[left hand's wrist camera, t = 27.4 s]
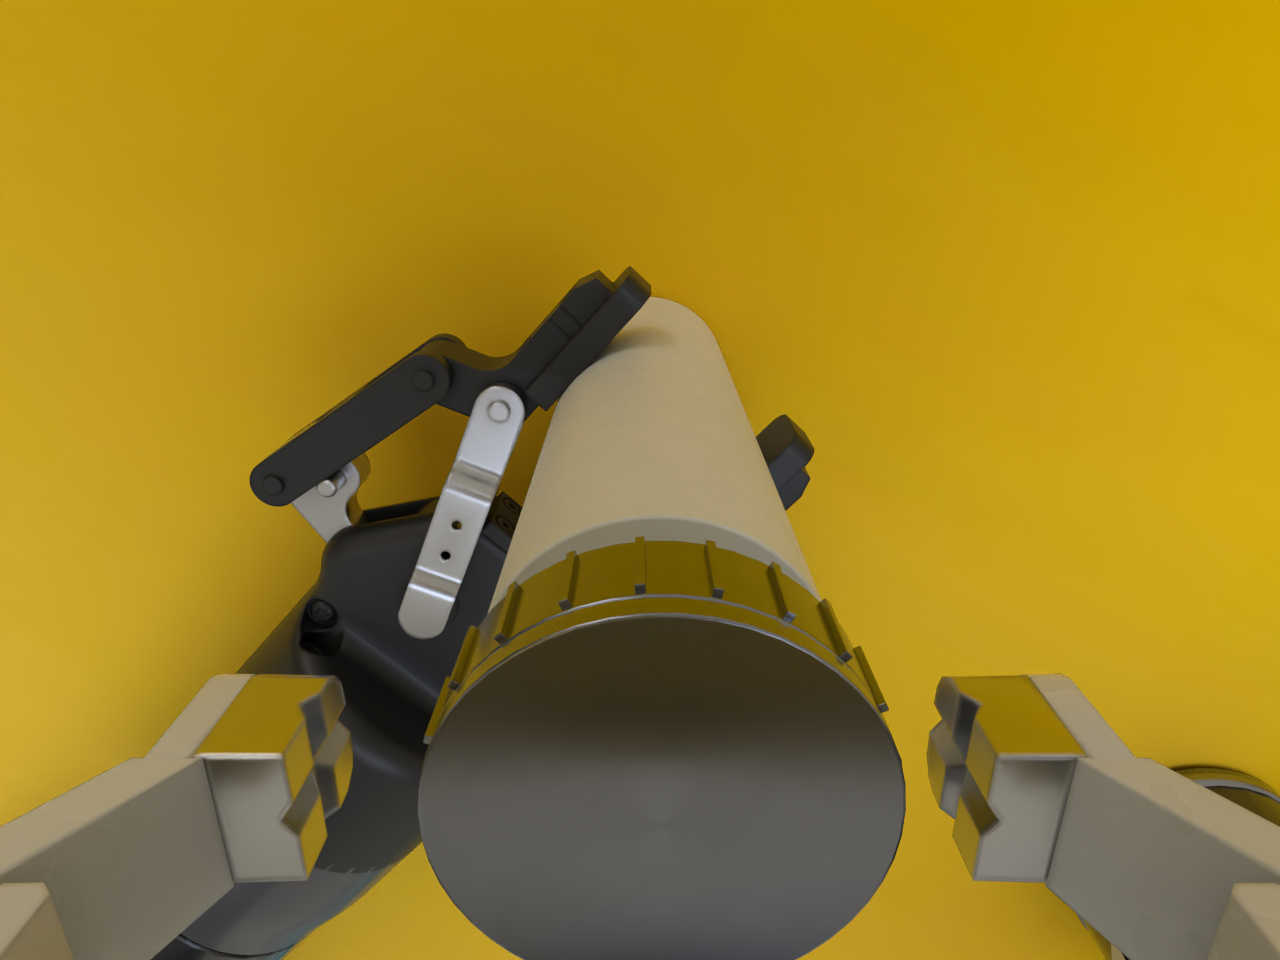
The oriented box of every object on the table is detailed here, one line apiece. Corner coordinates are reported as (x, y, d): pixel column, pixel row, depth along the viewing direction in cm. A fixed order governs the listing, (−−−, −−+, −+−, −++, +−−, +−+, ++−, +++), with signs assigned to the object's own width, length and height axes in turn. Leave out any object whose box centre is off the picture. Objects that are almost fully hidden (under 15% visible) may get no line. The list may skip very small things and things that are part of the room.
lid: (369, 772, 11) (323, 877, 9) (591, 445, 9) (581, 506, 7) (707, 937, 12) (718, 1056, 10) (962, 674, 10) (1020, 768, 8)
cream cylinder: (592, 277, 26) (501, 520, 9) (742, 320, 26) (929, 627, 9) (556, 422, 27) (421, 856, 11) (696, 460, 28) (784, 930, 11)
